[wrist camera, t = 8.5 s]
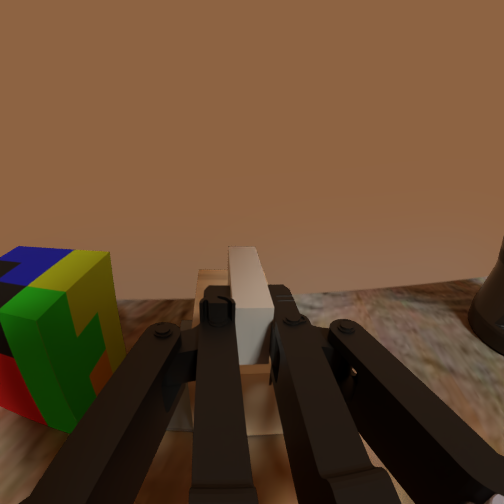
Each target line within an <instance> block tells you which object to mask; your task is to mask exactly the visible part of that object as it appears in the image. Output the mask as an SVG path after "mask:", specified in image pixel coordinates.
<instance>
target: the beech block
mask: <svg viewBox="0 0 504 504" xmlns="http://www.w3.org/2000/svg"><path fill="white" fill-rule="evenodd" d="M263 272H264V270H263ZM264 276H265V273H264ZM265 279H266V276H265ZM266 282H267V279H266ZM209 285H228V270H199V273H198V281H197V289H196V297H195V305H194V313H193V322H192V328H194V327H196V326H197V325H199V323H200V312H199V302H200V300H201V299H202V298H203V296H204V290H205V289H206V288H207V287H208V286H209ZM267 285H268V282H267ZM239 366H240V375H241V385H242V394H243V403H244V412H245V421H246V430H247V436H251V435H268V434H281V433H283V430H282V425H281V421H280V416H279V411H278V406H277V402H276V397H275V392H274V388H273V383H272V385H269V378H270V369H271V358H270V356H269V364H255V365H239ZM195 385H196V381H192V382H188V388H189V396H190V405H191V413H192V421H193V426H194V404H195Z"/></svg>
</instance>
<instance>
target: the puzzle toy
mask: <svg viewBox="0 0 504 504" xmlns="http://www.w3.org/2000/svg"><path fill="white" fill-rule="evenodd" d="M126 355H127V354H126V350H125V345H124V340H123V335H122V330H121V325H120V319H119V314H118V308H117V302H116V296H115V289H114V282H113V275H112V267H111V260H110V252H103V251H87V250H86V251H85V250H71V249H54V248H39V247H23V246H18V247H16V248H15V249H13V250H11V251H10V252H8V253H7V254H5V255H3V256H2V257H0V406H1V407H3V408H5V409H8V410H10V411H12V412H14V413H17V414H19V415H21V416H24V417H26V418H28V419H31V420H33V421H36V422H39V423H41V424H44V425H46V426H49V427H52V428H55V429H58V430H60V431H63V432H66V433H69V434H71V433H72V431H73V430H74V428H75V427H76V425H77V424H78V422H79V421H80V420H81V418H82V417H83V415H84V414H85V412H86V411H87V410H88V408H89V407H90V405H91V404H92V403H93V401H94V400H95V398H96V397H97V396H98V394H99V393H100V391H101V390H102V389H103V387H104V386H105V384H106V383H107V382H108V380H109V379H110V377H111V376H112V375H113V373H114V372H115V371H116V369H117V368H118V367H119V365H120V364H121V362H122V361H123V360H124V358H125V357H126Z"/></svg>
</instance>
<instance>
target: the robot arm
mask: <svg viewBox="0 0 504 504" xmlns="http://www.w3.org/2000/svg"><path fill="white" fill-rule="evenodd" d="M199 312H200V323H199V325H197V326H196V327H194V328H192V329H188V330H184V331H181V330H180V328H179V327H178V326H177V325H175V324H172V323H167V322H161V323H155V324H153V325H151V326H149V327H148V328H147V329H146V330H145V332H144V333H143V334H142V335H141V337H140V338H139V340H138V341H137V342H136V344H135V345H134V346H133V348H132V349H131V350H130V352H129V353H128V354H127V356H126V357H125V358H124V360H123V361H122V362H121V364H120V365H119V367H118V368H117V369H116V371H115V372H114V373H113V375H112V376H111V377H110V379H109V380H108V382H107V383H106V384H105V386H104V387H103V389H102V390H101V391H100V393H99V394H98V396H97V397H96V398H95V400H94V401H93V403H92V404H91V405H90V407H89V408H88V410H87V411H86V412H85V414H84V415H83V417H82V418H81V420H80V421H79V422H78V424H77V425H76V427H75V428H74V430H73V431H72V433H71V434H70V435H69V437H68V438H67V440H66V441H65V443H64V444H63V446H62V447H61V449H60V450H59V452H58V453H57V455H56V456H55V458H54V459H53V461H52V462H51V464H50V465H49V467H48V468H47V470H46V471H45V473H44V474H43V476H42V477H41V479H40V480H39V482H38V483H37V485H36V486H35V488H34V490H33V491H32V493H31V494H30V496H29V497H27V498H26V499H24V500H23V501H22V502H20V503H19V504H133V503H134V501H135V499H136V496H137V494H138V492H139V490H140V487H141V485H142V483H143V481H144V478H145V476H146V474H147V472H148V469H149V467H150V465H151V463H152V460H153V458H154V456H155V454H156V452H157V449H158V447H159V445H160V443H161V440H162V438H163V436H164V434H165V432H166V429H167V427H168V425H169V423H170V420H171V418H172V416H173V414H174V412H175V409H176V407H177V405H178V403H179V400H180V398H181V396H182V394H183V392H184V389H185V387H186V383H187V382H192V381H196V385H195V404H194V426H193V454H192V485H191V488H190V491H189V504H259V503H258V497H257V492H256V488H255V487H254V485H253V479H252V472H251V464H250V455H249V447H248V439H247V430H246V421H245V412H244V403H243V394H242V385H241V375H240V366H239V365H255V364H269V356H270V358H271V369H270V378H269V385H272V383H273V388H274V392H275V397H276V402H277V406H278V411H279V416H280V421H281V425H282V430H283V435H284V439H285V444H286V449H287V453H288V458H289V463H290V467H291V472H292V477H293V481H294V486H295V490H296V495H297V500H298V504H401V501H400V499H399V497H398V494H397V492H396V490H395V487H394V485H393V483H392V480H391V478H390V476H389V474H388V473H387V471H386V470H385V469H384V468H382V467H374V466H373V465H372V463H371V461H370V459H369V456H368V454H367V452H366V449H365V447H364V444H363V442H362V440H361V437H360V435H361V436H362V437H363V439H364V440H365V441H366V442H367V444H368V445H369V446H370V448H371V449H372V450H373V451H374V453H375V454H376V455H377V457H378V458H379V459H380V460H381V462H382V463H383V464H384V465H385V467H386V468H387V469H388V470H389V472H390V473H391V474H392V475H393V477H394V478H395V479H396V480H397V482H398V483H399V484H400V485H401V487H402V488H403V489H404V490H405V492H406V493H407V494H408V495H409V497H410V498H411V499H412V500H413V502H414V503H415V504H504V456H502V455H499V454H498V453H497V452H496V451H495V450H493V449H492V448H491V447H490V446H489V445H488V444H487V443H486V442H485V441H484V440H483V439H482V438H481V437H480V436H479V435H478V434H477V433H476V432H475V431H474V430H473V429H472V428H471V427H470V426H468V425H467V424H466V423H465V422H464V421H463V420H462V419H461V418H460V417H459V416H458V415H457V414H456V413H455V412H454V411H453V410H452V409H451V408H449V407H448V406H447V405H446V404H445V403H444V402H443V401H442V400H441V399H440V398H439V397H438V396H437V395H436V394H435V393H433V392H432V391H431V390H430V389H429V388H428V387H427V386H426V385H425V384H424V383H423V382H422V381H421V380H419V379H418V378H417V377H416V376H415V375H414V374H413V373H412V372H411V371H410V370H409V369H408V368H406V367H405V366H404V365H403V364H402V363H401V362H400V361H399V360H398V359H397V358H396V357H395V356H393V355H392V354H391V353H390V352H389V351H388V350H387V349H386V348H385V347H384V346H383V345H381V344H380V343H379V342H378V341H377V340H376V339H375V338H374V337H373V336H372V335H370V334H369V333H368V332H367V331H366V330H365V329H364V328H363V327H362V326H361V325H359V324H358V323H356V322H354V321H351V320H348V319H338V320H335V321H333V322H332V323H331V324H330V327H329V329H328V328H321V327H316V326H313V325H311V323H310V321H309V319H308V318H307V317H306V316H304V315H302V314H300V313H299V311H298V308H297V306H296V304H295V301H294V299H293V297H292V294H291V292H290V290H289V289H288V288H287V287H285V286H284V285H267V282H266V279H265V276H264V272H263V269H262V266H261V263H260V260H259V256H258V253H257V250H256V247H248V246H229V247H228V285H209V286H208V287H207V288H206V289H205V290H204V296H203V298H202V299H201V300H200V302H199ZM468 320H469V323H470V325H471V327H472V328H473V330H474V331H475V333H476V334H477V335H478V336H479V337H480V338H481V339H482V340H483V341H484V342H485V343H487V344H488V345H489V346H491V347H492V348H494V349H495V350H497V351H498V352H500V353H502V354H504V237H503V241H502V246H501V249H500V253H499V257H498V261H497V263H496V265H495V267H494V268H493V270H492V271H491V273H490V275H489V276H488V278H487V279H486V281H485V282H484V284H483V285H482V287H481V289H480V290H479V292H478V293H477V294H476V295H475V297H474V299H473V301H472V304H471V307H470V310H469V313H468ZM352 368H354V369H355V371H356V372H357V374H356V373H354V372H353V370H352ZM358 432H359V433H360V435H359V433H358Z"/></svg>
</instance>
